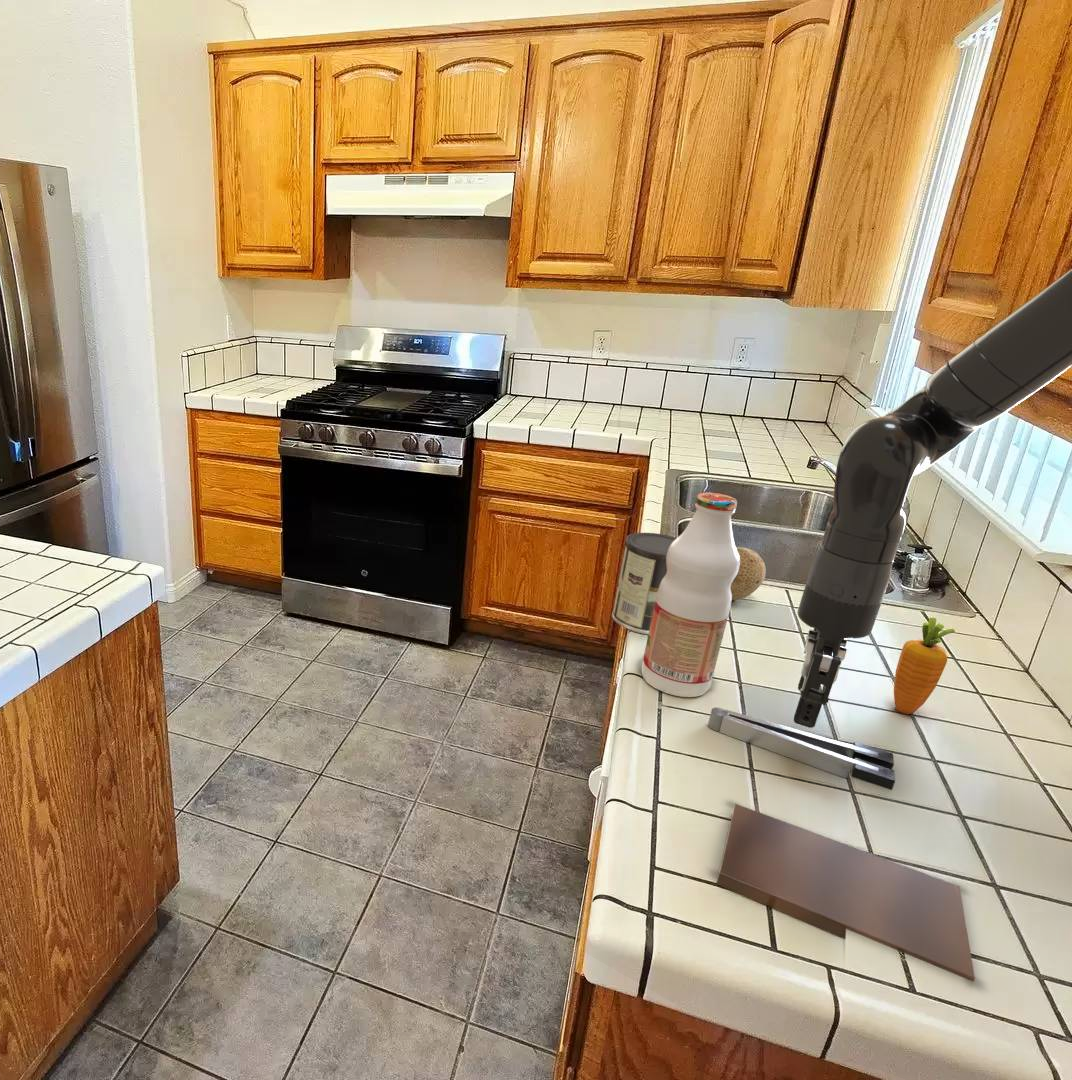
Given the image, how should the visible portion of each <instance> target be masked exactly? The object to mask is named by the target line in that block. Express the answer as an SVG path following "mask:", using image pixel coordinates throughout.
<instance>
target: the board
mask: <svg viewBox="0 0 1072 1080" xmlns="http://www.w3.org/2000/svg"><path fill="white" fill-rule="evenodd" d="M733 806H734V807H733V810H732V813H731V818H730V822H729V827H728V832H727V835H726V839H725V844H724V848H723V852H722V857H721V862H720V866H719V870H718V875H717V879H716V883H715V884H716V885H717V886H719V887H722V888H724V889H725V890H728V891H731V892H734V893H735V894H738V895H740V896H743V897H745V898H748V899H750V900H752V901H755V902H757V903H760V904H761V905H765V906H766V907H769V908H771V909H774V910H777V911H778V912H781V913H783V914H786V915H788V916H790V917H793V918H795V919H798V920H800V921H803V922H804V923H807V924H809V925H812V926H814V927H816V928H819V929H821V930H823V931H826V932H829V933H831V934H832V935H833V934H834V935H835V936H838V937H840V938H843V939H845V940H846V938H847V936H846V935H847V930H848V931H851V932H853V933H856V934H858V935H860V936H862V937H865V938H867V939H870V940H872V941H874V942H876V943H879V944H882V945H884V946H887V947H890V948H891V949H894V950H897V951H899V952H901V953H903V954H906V955H908V956H911V957H913V958H916V959H918V960H920V961H923V962H926V963H928V964H929V965H933V966H935V967H937V968H940V969H941V970H945V971H947V972H949V973H952V974H953V975H954V974H955V975H957V976H959V977H961V978H963V979H966V980H968V981H971V982H974V981H975V978H976V977H975V971H974V965H973V959H972V953H971V947H970V941H969V934H968V929H967V923H966V917H965V912H964V911H965V910H964V904H963V899H962V892H961V887H960V885H957V884H955V883H952V882H950V881H947V880H944V879H941V878H938V877H936V876H934V875H930V874H928V873H925V872H922V871H919V870H917V869H914V868H911V867H909V866H906V865H903V864H901V863H898V862H895V861H893V860H889V859H888V858H885V857H882V856H878V855H876V854H873V853H871V852H868V851H865V850H862V849H860V848H857V847H854V846H851V845H849V844H846V843H844V842H841V841H839V840H836V839H833V838H830V837H828V836H824V835H822V834H819V833H817V832H814V831H811V830H808V829H806V828H802V827H800V826H798V825H795V824H792V823H790V822H786V821H784V820H781V819H779V818H776V817H773V816H770V815H768V814H764V813H763V812H760V811H757V810H754V809H751V808H749V807H746V806H743V805H740V804H737V803H735V804H734V805H733Z"/></svg>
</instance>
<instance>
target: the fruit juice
mask: <svg viewBox="0 0 1072 1080" xmlns="http://www.w3.org/2000/svg"><path fill="white" fill-rule="evenodd" d="M694 501H695V504H694V506H695V509H696V510H695V512H694V513H693V516H692V518H691V519H690V521H689V522H688V524H687V526H686V527H685V528H684V530H683V531H682V533H680V535H678V536H677V537H675V538H676V539H675V540H674V541H673V542H672V543H671V545H670V546H669V549H668V552H667V556H666V564H667V573H666V575H665V576H664V578H663V579H662V581H661V583H660V586H659V589H658V592H657V596H656V602H655V606H654V611H653V616H652V620H651V625H650V630H649V634H647V639H646V644H645V647H644V654H643V658H642V663H641V676H642V678H643V680H644V681H645V682H646V683H648V685H649V686H651V687H653V689H656V690H658V691H660V692H662V693H665V694H668V695H671V696H676V697H682V698H696V697H700V696H703V695H705V694H706V693H707V692H708V690H709V689H710V687H711V684H712V681H713V677H714V674H715V670H716V666H717V662H718V657H719V654H720V651H721V646H722V642H723V638H724V635H725V631H726V628H727V627H726V626H727V622H728V619H729V616H730V611H731V607H732V601H733V600H732V593H731V589H730V587H731V583H732V582H733V580H734V579H735V577H736V575H737V573H738V571H739V566H740V556H739V553H738V551H737V549H736V547H737V546H736V543H735V538H734V532H733V524H732V515H733V514H735V513H736V510H737V505H738V501H737V498H734V497H732V496H730V495H727V494H723V493H718V492H709V491H708V492H707V491H705V492H699V493H698V494H697V495H696V498H695V500H694Z"/></svg>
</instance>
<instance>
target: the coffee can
mask: <svg viewBox="0 0 1072 1080" xmlns="http://www.w3.org/2000/svg"><path fill="white" fill-rule="evenodd" d="M676 538H677V537H674V536H671V535H667V534H662V533H656V532H636V533H631V534H628V535H627V536H626V537H625V541H624V543H625V547H624V552H623V556H622V563H621V568H620V573H619V578H618V583H617V589H616V594H615V599H614V605H613V608H612V609H613V610H612V613H611V617H612V619H613V621H614V622H615V623H616V624H617V625H619V626H621V627H623V628H624V629H626V630H629V631H632V632H634V633H638V634H643V635H648V634H649V630H650V625H651V620H652V616H653V611H654V606H655V602H656V596H657V592H658V589H659V586H660V583H661V581H662V579H663V578H664V576H665V575H666V573H667V564H666V556H667V552H668V549H669V546H670V545H671V543H672V542H673V541H674V540H675V539H676Z"/></svg>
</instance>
